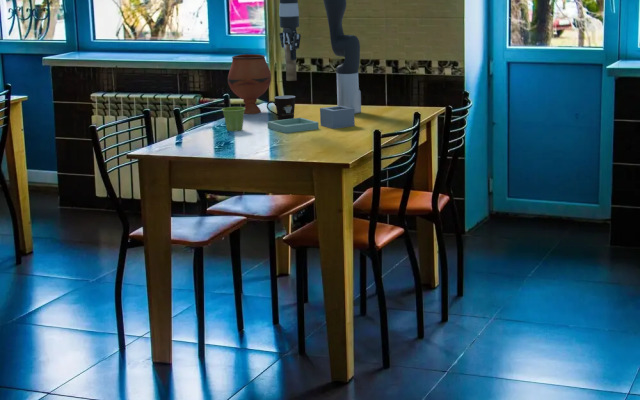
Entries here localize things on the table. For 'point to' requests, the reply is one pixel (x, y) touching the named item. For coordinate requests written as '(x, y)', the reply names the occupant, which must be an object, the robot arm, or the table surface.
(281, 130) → the tray
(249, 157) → the table surface
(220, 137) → the table surface
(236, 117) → the plant pot
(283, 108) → the coffee mug
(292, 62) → the dowel
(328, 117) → the blue storage bin
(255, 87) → the goblet
